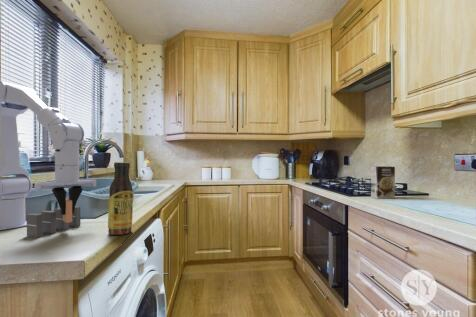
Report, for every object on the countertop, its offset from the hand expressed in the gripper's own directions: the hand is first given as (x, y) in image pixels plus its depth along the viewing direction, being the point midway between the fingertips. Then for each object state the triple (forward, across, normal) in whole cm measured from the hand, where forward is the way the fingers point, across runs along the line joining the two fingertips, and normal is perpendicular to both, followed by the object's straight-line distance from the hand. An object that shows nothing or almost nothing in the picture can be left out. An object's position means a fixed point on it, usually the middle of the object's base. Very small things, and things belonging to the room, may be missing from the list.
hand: (67, 213), depth 73 cm
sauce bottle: (+6, +10, -11) cm, 16 cm away
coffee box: (+5, +128, -46) cm, 136 cm away
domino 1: (+6, -7, +3) cm, 9 cm away
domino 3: (+6, 0, +6) cm, 8 cm away
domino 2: (+6, -4, +4) cm, 8 cm away
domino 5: (+6, +3, +8) cm, 10 cm away
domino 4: (+2, 0, 0) cm, 2 cm away
